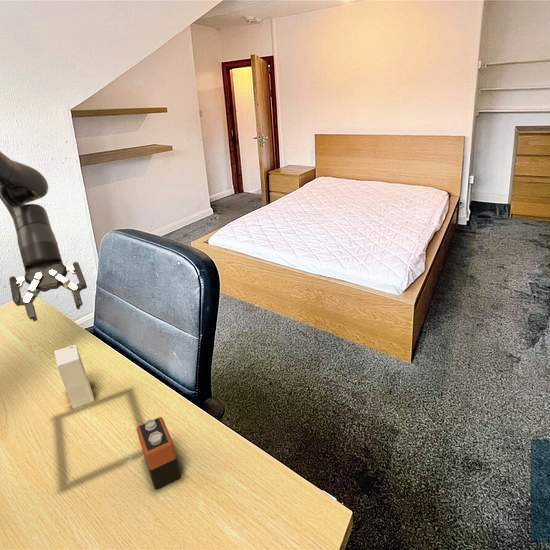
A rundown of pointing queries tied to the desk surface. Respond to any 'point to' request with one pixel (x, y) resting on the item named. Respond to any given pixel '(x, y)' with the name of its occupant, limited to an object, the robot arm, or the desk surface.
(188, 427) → the desk surface
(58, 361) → the cosmetic box
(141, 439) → the battery
